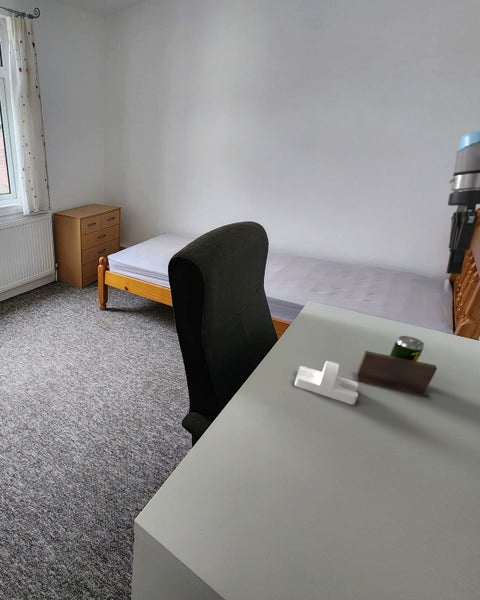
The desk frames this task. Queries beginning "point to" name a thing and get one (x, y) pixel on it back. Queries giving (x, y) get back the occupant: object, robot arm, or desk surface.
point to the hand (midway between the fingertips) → (453, 273)
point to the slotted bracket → (327, 383)
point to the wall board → (395, 373)
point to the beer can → (407, 348)
